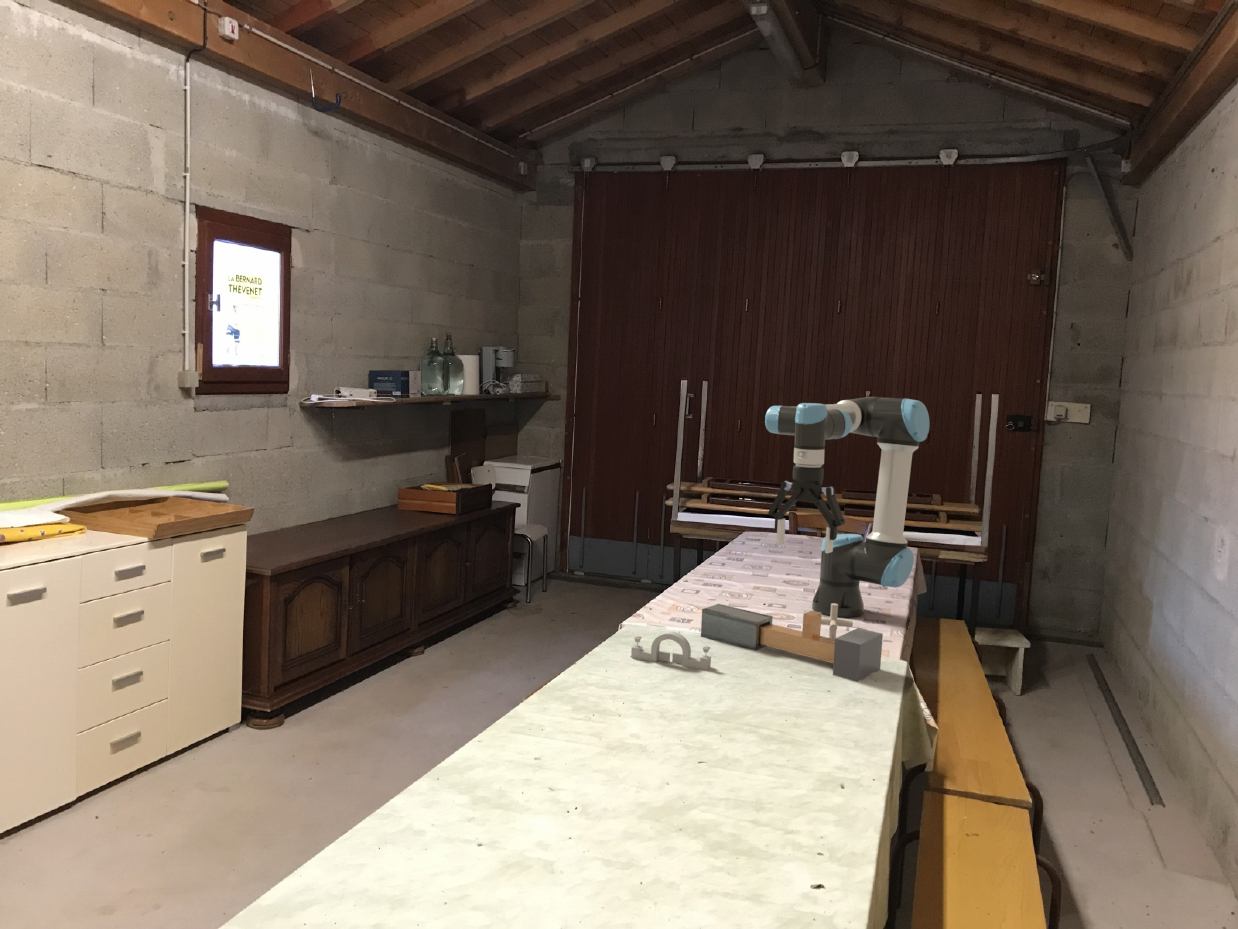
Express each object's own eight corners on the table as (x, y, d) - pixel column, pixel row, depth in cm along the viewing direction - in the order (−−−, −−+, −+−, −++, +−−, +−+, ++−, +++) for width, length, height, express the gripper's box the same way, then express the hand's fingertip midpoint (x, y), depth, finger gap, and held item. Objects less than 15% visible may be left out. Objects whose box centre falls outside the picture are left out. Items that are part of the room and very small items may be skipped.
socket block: (855, 663, 238) (858, 628, 237) (880, 669, 234) (882, 633, 233) (832, 674, 229) (835, 638, 228) (857, 681, 225) (860, 644, 224)
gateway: (710, 669, 231) (711, 637, 230) (707, 672, 229) (709, 639, 228) (634, 657, 238) (635, 626, 237) (631, 659, 236) (632, 628, 235)
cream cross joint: (851, 648, 251) (854, 611, 249) (813, 644, 253) (815, 607, 251) (850, 637, 260) (853, 601, 259) (813, 633, 262) (815, 598, 261)
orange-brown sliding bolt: (754, 636, 252) (756, 598, 251) (860, 663, 233) (863, 621, 232) (745, 640, 249) (747, 601, 248) (852, 667, 230) (854, 625, 229)
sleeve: (717, 630, 262) (718, 603, 261) (771, 644, 251) (772, 616, 250) (700, 636, 256) (702, 609, 255) (755, 650, 245) (756, 622, 244)
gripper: (757, 461, 244) (753, 542, 246) (848, 471, 228) (843, 558, 231) (772, 458, 249) (768, 538, 252) (861, 469, 234) (856, 553, 237)
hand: (804, 548), depth 242 cm, fingers open, 13 cm apart
